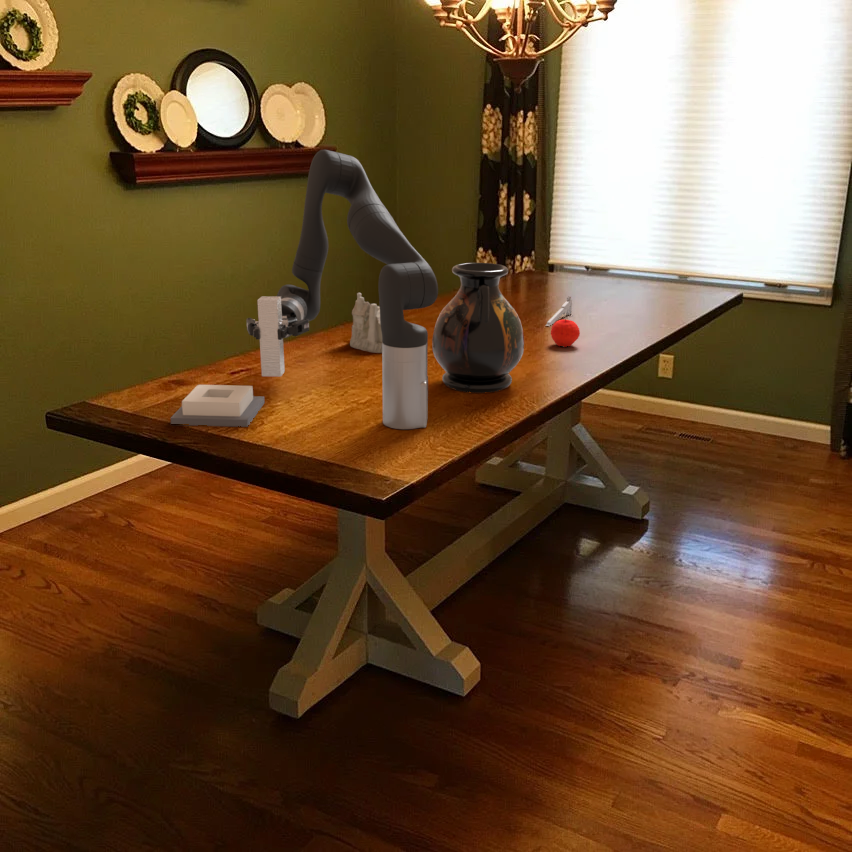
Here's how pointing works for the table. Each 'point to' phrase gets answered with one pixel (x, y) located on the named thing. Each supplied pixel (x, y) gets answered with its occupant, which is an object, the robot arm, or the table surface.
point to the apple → (565, 332)
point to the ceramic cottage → (366, 326)
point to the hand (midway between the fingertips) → (268, 334)
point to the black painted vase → (478, 332)
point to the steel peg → (270, 336)
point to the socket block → (219, 406)
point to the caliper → (562, 311)
